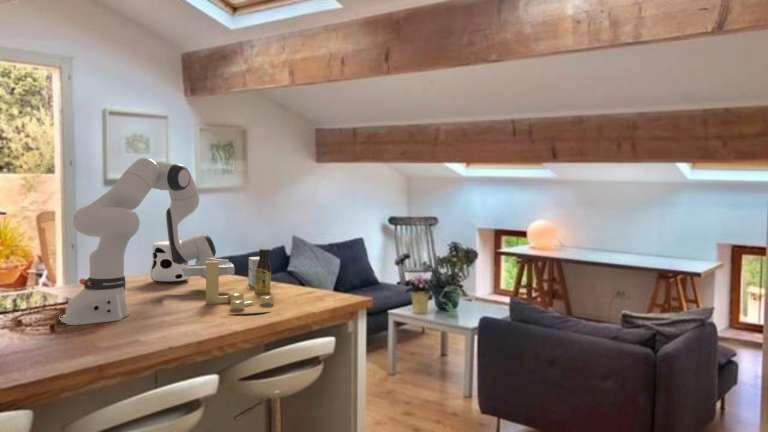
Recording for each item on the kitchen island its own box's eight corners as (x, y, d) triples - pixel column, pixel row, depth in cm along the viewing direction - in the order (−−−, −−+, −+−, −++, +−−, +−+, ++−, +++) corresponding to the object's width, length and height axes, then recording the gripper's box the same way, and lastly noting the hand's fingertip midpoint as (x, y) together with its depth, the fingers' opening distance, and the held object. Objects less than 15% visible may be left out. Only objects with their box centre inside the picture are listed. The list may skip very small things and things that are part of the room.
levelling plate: (237, 318, 225) (237, 306, 224) (205, 308, 240) (205, 296, 240) (287, 309, 241) (287, 298, 240) (254, 300, 256) (254, 289, 255)
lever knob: (206, 305, 239) (206, 263, 238) (205, 302, 244) (205, 260, 243) (244, 303, 244) (244, 261, 242) (242, 300, 249) (242, 259, 248)
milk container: (198, 281, 295) (198, 243, 294) (167, 287, 280) (167, 246, 279) (173, 277, 304) (173, 240, 303) (142, 282, 290) (142, 243, 288)
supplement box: (248, 284, 290) (248, 257, 289) (264, 283, 293) (264, 256, 292) (251, 287, 284) (252, 259, 283) (268, 286, 287) (268, 258, 286)
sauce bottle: (251, 296, 264) (252, 248, 263) (261, 293, 270) (261, 247, 268) (264, 298, 261) (264, 250, 260) (273, 295, 267) (274, 248, 265)
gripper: (181, 261, 264) (183, 266, 251) (231, 259, 271) (236, 264, 258) (181, 276, 265) (183, 282, 252) (231, 274, 272) (236, 279, 259)
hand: (210, 273), depth 255 cm, fingers closed
